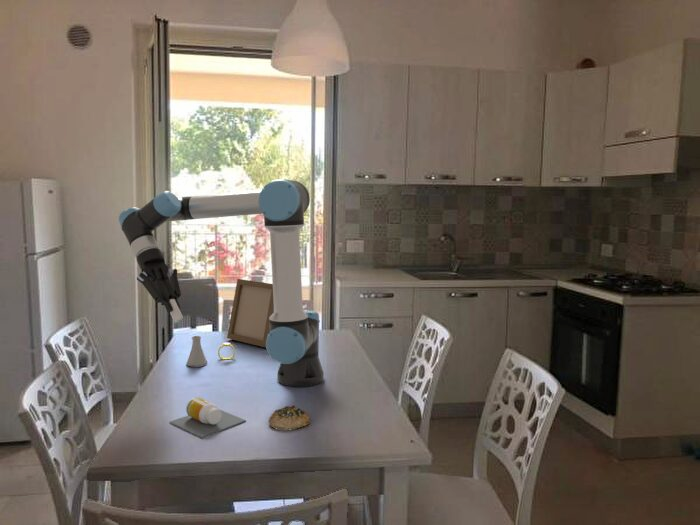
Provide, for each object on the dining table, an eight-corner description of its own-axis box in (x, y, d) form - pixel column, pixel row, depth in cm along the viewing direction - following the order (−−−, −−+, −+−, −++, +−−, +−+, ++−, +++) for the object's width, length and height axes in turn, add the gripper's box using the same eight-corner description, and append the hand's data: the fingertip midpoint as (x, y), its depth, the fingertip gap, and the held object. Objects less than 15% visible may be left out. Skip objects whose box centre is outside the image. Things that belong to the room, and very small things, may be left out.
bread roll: (284, 411, 159) (286, 395, 157) (317, 425, 153) (319, 408, 152) (259, 426, 149) (260, 409, 148) (292, 441, 144) (294, 424, 143)
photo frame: (265, 349, 219) (266, 286, 216) (226, 340, 231) (227, 280, 228) (290, 342, 231) (291, 282, 228) (252, 334, 243) (253, 276, 240)
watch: (234, 358, 208) (235, 342, 208) (234, 360, 206) (235, 344, 205) (217, 358, 207) (218, 342, 206) (217, 360, 204) (218, 344, 203)
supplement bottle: (188, 420, 151) (208, 431, 145) (183, 403, 150) (203, 413, 143) (204, 410, 155) (225, 420, 149) (200, 393, 153) (221, 402, 147)
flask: (201, 368, 195) (201, 340, 194) (182, 366, 196) (181, 338, 195) (210, 362, 202) (210, 335, 201) (192, 360, 203) (191, 333, 202)
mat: (169, 423, 149) (169, 421, 149) (213, 408, 160) (213, 406, 160) (202, 438, 140) (202, 437, 140) (245, 421, 151) (245, 420, 151)
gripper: (161, 259, 179) (191, 322, 172) (123, 262, 169) (153, 330, 162) (171, 245, 175) (203, 310, 168) (133, 248, 164) (165, 317, 158)
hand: (179, 320), depth 165 cm, fingers closed
